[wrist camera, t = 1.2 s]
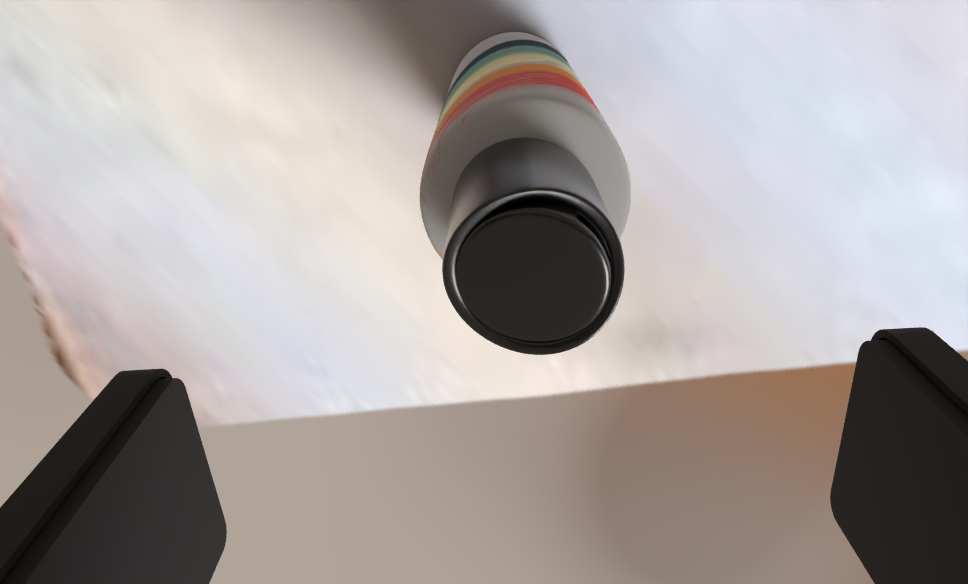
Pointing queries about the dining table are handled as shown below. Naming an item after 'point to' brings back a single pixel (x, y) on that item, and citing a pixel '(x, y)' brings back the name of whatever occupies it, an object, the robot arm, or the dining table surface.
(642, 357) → the dining table surface
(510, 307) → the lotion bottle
